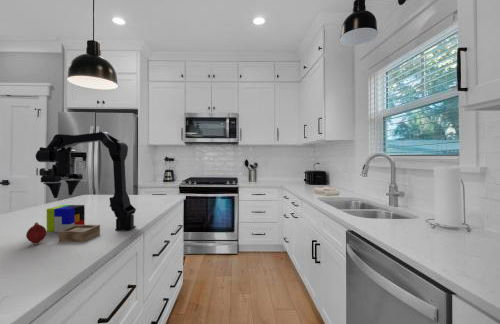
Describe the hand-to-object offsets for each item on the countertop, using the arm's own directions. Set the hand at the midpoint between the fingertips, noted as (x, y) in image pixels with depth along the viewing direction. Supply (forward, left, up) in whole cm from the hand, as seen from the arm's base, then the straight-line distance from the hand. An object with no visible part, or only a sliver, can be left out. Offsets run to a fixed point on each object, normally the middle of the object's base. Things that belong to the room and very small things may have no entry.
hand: (63, 196), depth 116 cm
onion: (-5, +21, -15) cm, 26 cm away
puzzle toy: (-1, 0, -15) cm, 15 cm away
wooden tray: (-16, +13, -15) cm, 25 cm away
